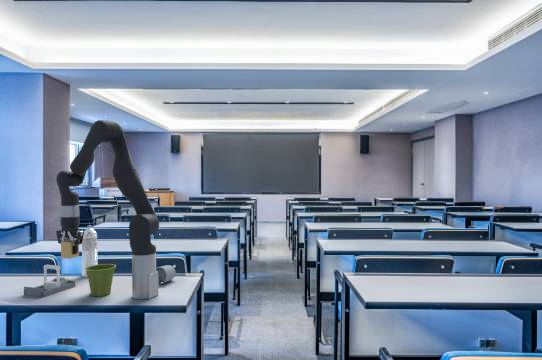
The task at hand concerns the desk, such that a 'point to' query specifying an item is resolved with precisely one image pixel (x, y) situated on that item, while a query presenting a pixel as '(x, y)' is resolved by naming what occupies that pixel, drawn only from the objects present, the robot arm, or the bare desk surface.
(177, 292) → the desk surface
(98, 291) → the plant pot
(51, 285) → the grey arch gate
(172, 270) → the ceramic mug
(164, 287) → the desk surface
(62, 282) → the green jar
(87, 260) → the water bottle
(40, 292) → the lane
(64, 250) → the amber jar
